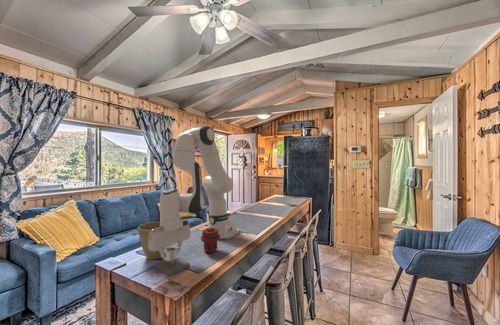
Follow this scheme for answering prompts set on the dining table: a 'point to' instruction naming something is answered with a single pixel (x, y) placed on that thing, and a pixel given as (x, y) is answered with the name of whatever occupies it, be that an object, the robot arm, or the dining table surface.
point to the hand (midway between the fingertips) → (170, 254)
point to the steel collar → (171, 253)
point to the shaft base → (171, 266)
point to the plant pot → (144, 239)
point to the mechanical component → (210, 239)
